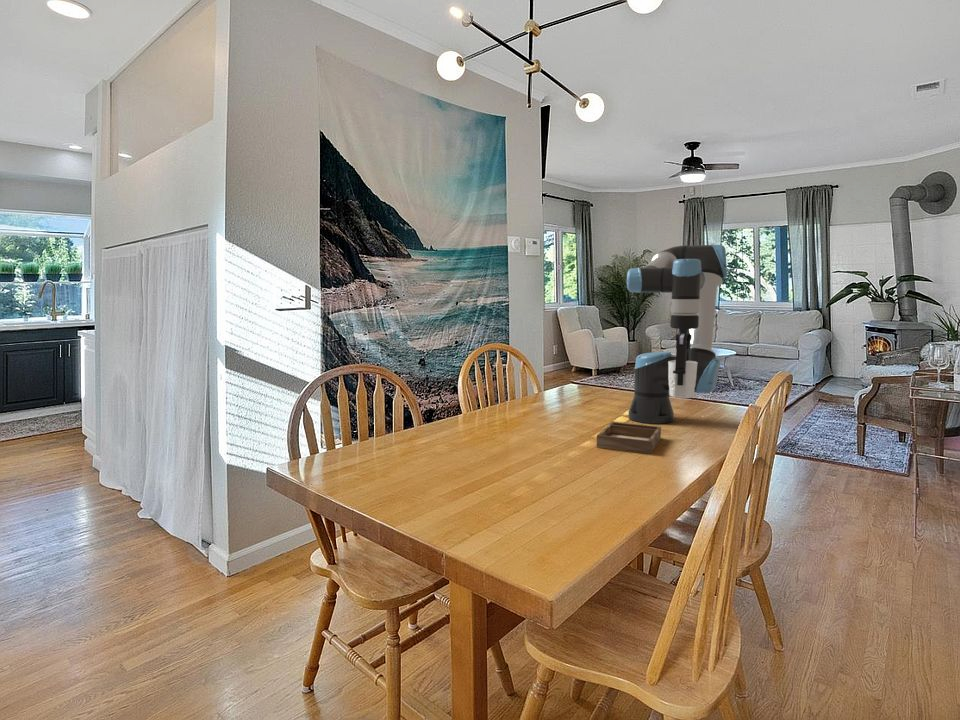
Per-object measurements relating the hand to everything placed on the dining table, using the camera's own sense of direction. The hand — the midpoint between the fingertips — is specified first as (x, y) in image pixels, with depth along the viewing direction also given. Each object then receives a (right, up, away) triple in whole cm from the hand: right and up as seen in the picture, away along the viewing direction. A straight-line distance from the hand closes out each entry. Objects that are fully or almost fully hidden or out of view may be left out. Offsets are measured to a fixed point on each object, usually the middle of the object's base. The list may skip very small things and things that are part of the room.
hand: (681, 393), depth 163 cm
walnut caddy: (-14, -15, +4) cm, 21 cm away
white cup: (0, -1, 0) cm, 1 cm away
